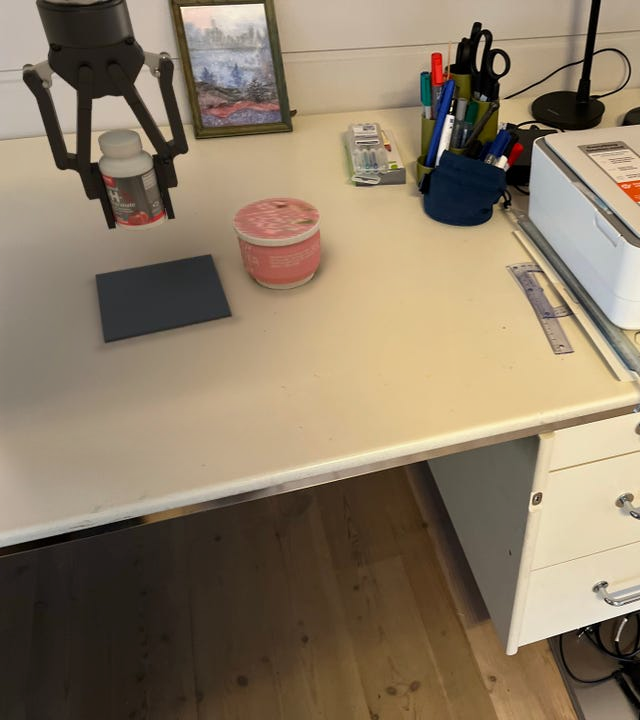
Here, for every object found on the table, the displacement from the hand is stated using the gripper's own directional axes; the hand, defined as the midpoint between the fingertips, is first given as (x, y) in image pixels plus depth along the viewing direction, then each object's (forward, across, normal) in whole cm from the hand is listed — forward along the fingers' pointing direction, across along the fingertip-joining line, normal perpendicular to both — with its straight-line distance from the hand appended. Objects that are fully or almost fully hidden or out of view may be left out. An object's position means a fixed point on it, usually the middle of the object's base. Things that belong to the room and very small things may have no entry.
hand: (141, 217), depth 83 cm
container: (+12, -15, -2) cm, 19 cm away
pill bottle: (+1, 0, 0) cm, 1 cm away
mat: (+12, 0, -1) cm, 12 cm away
